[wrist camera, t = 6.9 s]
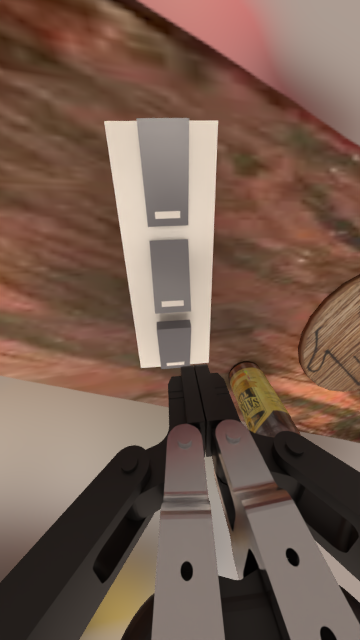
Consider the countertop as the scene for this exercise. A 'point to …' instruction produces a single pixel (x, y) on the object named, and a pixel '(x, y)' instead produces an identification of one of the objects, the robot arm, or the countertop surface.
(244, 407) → the sauce bottle
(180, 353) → the far rocker
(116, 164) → the switch console
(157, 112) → the countertop surface
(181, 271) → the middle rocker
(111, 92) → the countertop surface
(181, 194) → the plate
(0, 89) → the countertop surface
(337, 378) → the trivet
